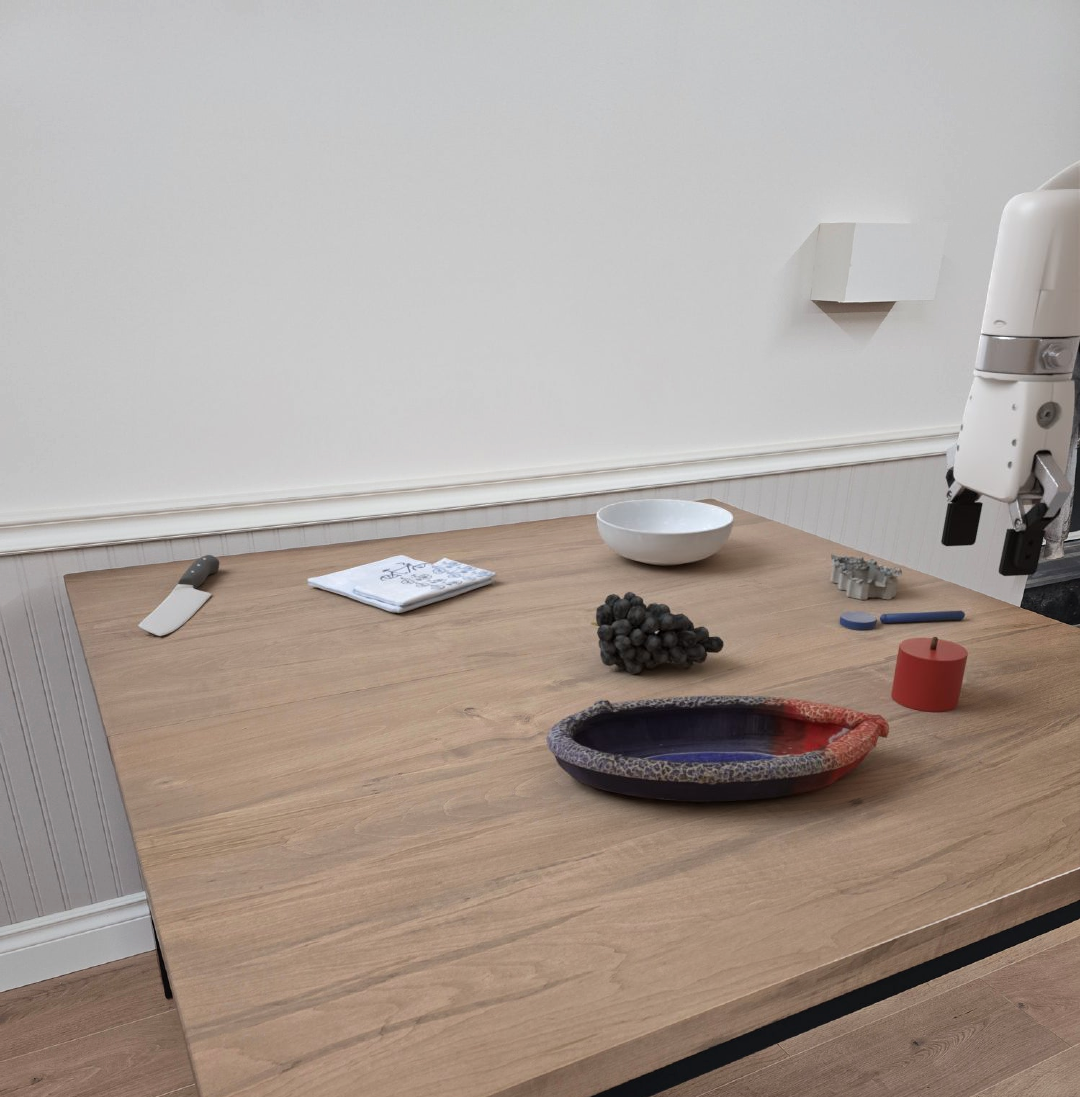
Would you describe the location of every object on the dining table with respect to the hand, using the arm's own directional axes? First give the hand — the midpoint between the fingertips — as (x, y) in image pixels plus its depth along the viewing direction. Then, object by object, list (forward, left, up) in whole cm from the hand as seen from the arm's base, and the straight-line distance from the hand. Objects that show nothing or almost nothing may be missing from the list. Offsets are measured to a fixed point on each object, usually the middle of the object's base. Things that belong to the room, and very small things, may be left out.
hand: (985, 559), depth 88 cm
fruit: (+26, -19, -17) cm, 36 cm away
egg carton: (-9, -44, -17) cm, 48 cm away
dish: (+26, +6, -17) cm, 31 cm away
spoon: (-8, -30, -17) cm, 35 cm away
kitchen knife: (+84, -51, -17) cm, 99 cm away
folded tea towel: (+55, -54, -17) cm, 79 cm away
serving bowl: (+15, -63, -17) cm, 67 cm away
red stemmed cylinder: (0, -7, -17) cm, 18 cm away
